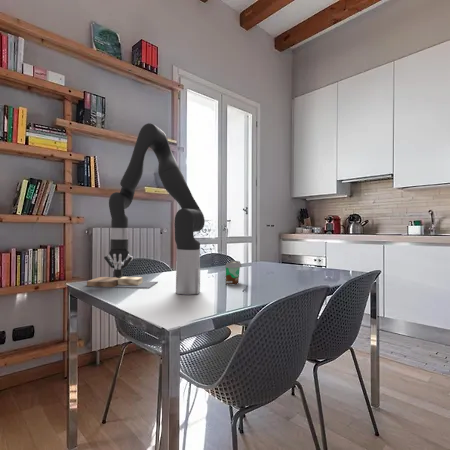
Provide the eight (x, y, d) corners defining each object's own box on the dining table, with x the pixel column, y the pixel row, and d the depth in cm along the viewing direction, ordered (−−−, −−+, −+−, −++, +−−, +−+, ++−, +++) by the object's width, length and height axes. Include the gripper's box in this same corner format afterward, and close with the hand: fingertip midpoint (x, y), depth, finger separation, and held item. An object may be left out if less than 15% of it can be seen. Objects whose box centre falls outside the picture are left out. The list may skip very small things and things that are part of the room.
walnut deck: (124, 281, 150) (124, 277, 150) (114, 286, 138) (114, 282, 138) (99, 281, 151) (99, 276, 151) (86, 286, 139) (87, 281, 139)
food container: (238, 286, 146) (239, 263, 146) (225, 285, 147) (225, 263, 147) (242, 281, 158) (243, 260, 158) (230, 280, 160) (230, 260, 160)
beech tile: (142, 282, 147) (142, 277, 147) (138, 285, 141) (138, 279, 141) (122, 282, 147) (122, 276, 147) (117, 284, 141) (117, 278, 141)
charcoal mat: (157, 282, 150) (157, 281, 150) (149, 288, 136) (149, 287, 136) (126, 281, 151) (126, 280, 151) (114, 287, 137) (114, 286, 137)
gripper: (137, 238, 147) (136, 276, 147) (108, 237, 148) (107, 275, 148) (131, 238, 140) (130, 279, 140) (101, 238, 140) (100, 278, 141)
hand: (118, 277), depth 144 cm, fingers closed
